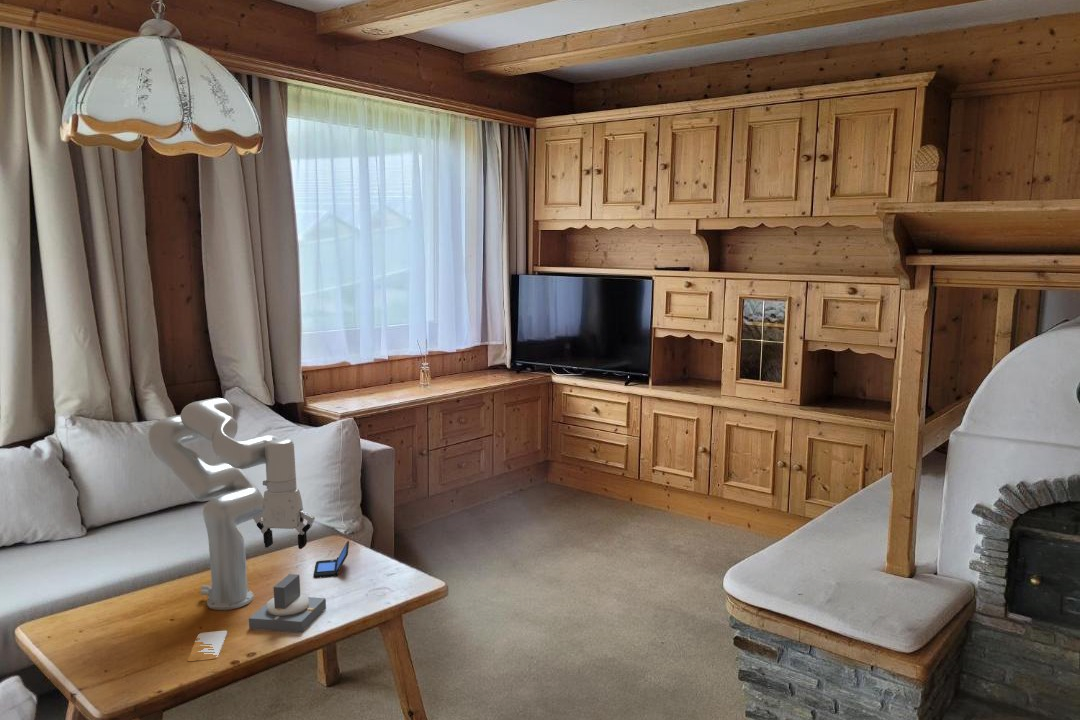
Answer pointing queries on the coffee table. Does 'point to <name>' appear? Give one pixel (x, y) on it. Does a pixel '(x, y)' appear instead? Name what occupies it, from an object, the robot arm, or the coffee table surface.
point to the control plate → (288, 618)
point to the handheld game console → (331, 565)
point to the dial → (287, 597)
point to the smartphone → (212, 641)
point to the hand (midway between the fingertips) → (285, 546)
